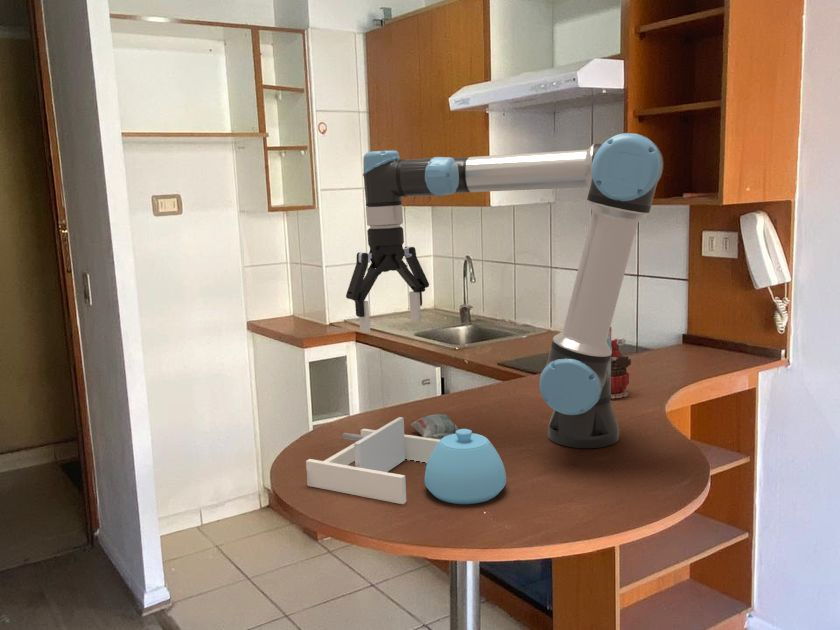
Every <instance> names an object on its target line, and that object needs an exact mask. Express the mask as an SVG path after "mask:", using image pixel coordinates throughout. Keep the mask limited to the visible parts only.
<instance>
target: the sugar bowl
mask: <svg viewBox="0 0 840 630" xmlns="http://www.w3.org/2000/svg"><path fill="white" fill-rule="evenodd" d="M424 471H425V472H424V485H425V487H426V488H427V489H428V491H429V492H430V493H431V494H432V495H433V496H434V497H435V498H436V499H438V500H440V501H442V502H445V503H450V504H454V505H473V504H480V503H485V502H487V501H490V500H492V499H494V498H495V497H496V496H497V495H499V494H500V492H501V491H502V490H503V489H504V488H505V486H506V483H507V474H506V469H505V465H504V462H503V461H502V458H501V456H500V454H499V453H498V451H497V450H496V448H495V446H494V445H493V444H492V442H491V441H490V440H489V439H488V438H487V437H486V436H484V435H481V434H479V433H473V431H472V430H471V429H468V428H460V429H459V428H458V430H457V431H456V434H451V435H448V436H445V437H443V438H442V439H441V440H440V441H439V443H438V444H437V445H436V447H435V449H434V450H433V452H432V454H431V456H430V458H429V460H428V463H426V466H425V469H424Z"/></svg>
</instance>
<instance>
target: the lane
mask: <svg viewBox="0 0 840 630" xmlns="http://www.w3.org/2000/svg"><path fill="white" fill-rule="evenodd" d="M376 430H377V429H370V428H362V429H360V435H364V436H368V435H369V434H371V433H373V432H374V431H376ZM404 439H405V459H407V460H406V461H410V460H414V461H413V462H416V461H420V462H419V463H422V462H425V463H424V464H427V463H428V460H429V458H430V456H431V454H432V452H433V450H434V449H435V447H436V445H437V444H438V443H439V441H440V439H433V438H426V437H423V436H418V435H412V434H405V433H404ZM356 442H357V441H355V442H354V443H356ZM354 443H352V444H350V445H348V446H347V447H345V448H343V449H342V450H340V451H338V452H336V453H335V454H332V455H331V456H330V457H328V458H326V459H325V460H319V459H312V458H309V459H307V460H305V468H306V469H305V470H306V481H307V482H306V483H307V487H312V488H318V489H322V490H327V491H332V492H337V493H343V494H349V495H354V496H358V497H363V498H368V499H374V500H379V501H384V502H388V503H395V504H399V505H405V504H406V502H407V487H406V484H407V483H406V475H404V474H399V473H393V472H389V471H388V472H382V471H377V470H371V469H365V468H359V467H355V466H354V465H350V464H352V463H354V462H355V451H354Z"/></svg>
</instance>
